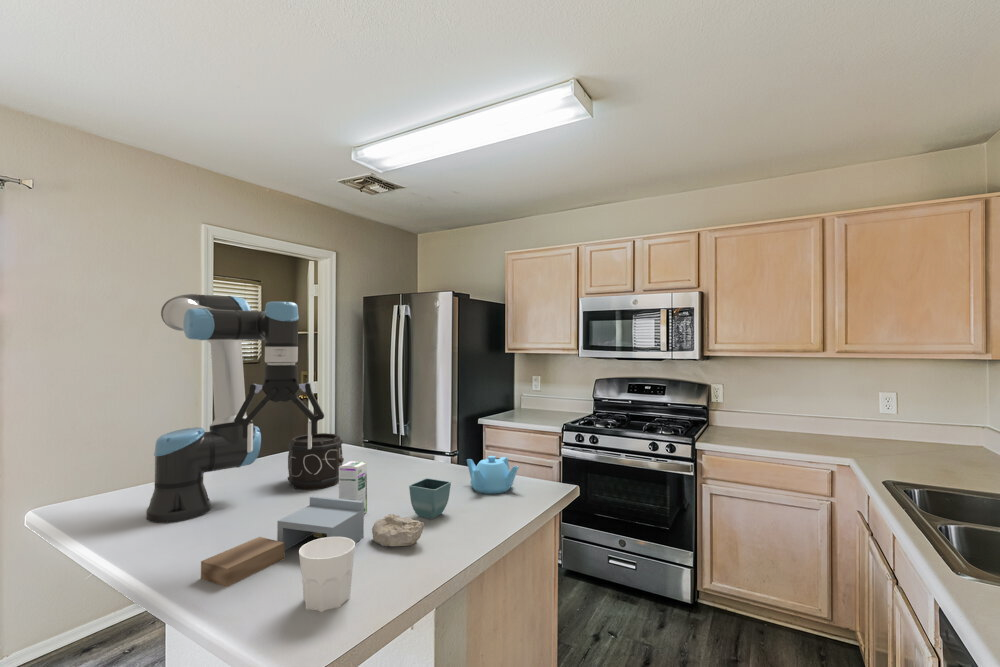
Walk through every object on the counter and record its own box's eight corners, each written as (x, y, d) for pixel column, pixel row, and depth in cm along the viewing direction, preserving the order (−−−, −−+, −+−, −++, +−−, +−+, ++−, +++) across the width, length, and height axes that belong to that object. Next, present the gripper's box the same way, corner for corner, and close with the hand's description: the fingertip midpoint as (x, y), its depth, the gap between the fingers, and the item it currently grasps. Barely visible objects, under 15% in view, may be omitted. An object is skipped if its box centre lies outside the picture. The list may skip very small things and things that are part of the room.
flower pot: (451, 512, 140) (451, 481, 140) (435, 523, 132) (435, 489, 132) (425, 508, 144) (425, 477, 144) (408, 518, 136) (408, 485, 136)
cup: (321, 583, 99) (321, 534, 99) (364, 590, 96) (365, 540, 96) (286, 609, 89) (287, 554, 89) (333, 618, 86) (333, 562, 86)
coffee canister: (333, 491, 160) (333, 442, 160) (278, 490, 160) (279, 442, 161) (350, 475, 178) (350, 432, 178) (301, 475, 178) (302, 432, 179)
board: (200, 580, 101) (201, 561, 101) (259, 554, 113) (259, 536, 113) (227, 588, 97) (227, 568, 97) (284, 560, 110) (284, 542, 110)
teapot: (519, 494, 157) (519, 460, 157) (473, 497, 154) (474, 463, 154) (508, 481, 172) (508, 450, 172) (466, 483, 169) (466, 452, 169)
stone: (395, 568, 113) (413, 533, 111) (360, 533, 118) (376, 500, 117) (415, 556, 120) (432, 523, 118) (381, 524, 125) (397, 492, 123)
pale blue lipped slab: (277, 550, 114) (277, 512, 114) (312, 530, 126) (312, 495, 126) (332, 559, 110) (332, 518, 110) (363, 537, 122) (363, 501, 122)
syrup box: (357, 519, 134) (358, 466, 135) (338, 517, 136) (338, 465, 136) (367, 512, 140) (367, 461, 140) (348, 510, 141) (348, 460, 141)
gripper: (221, 365, 114) (220, 456, 114) (333, 364, 121) (333, 449, 121) (228, 363, 121) (227, 449, 121) (334, 362, 129) (333, 443, 128)
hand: (280, 449), depth 121 cm, fingers open, 13 cm apart
